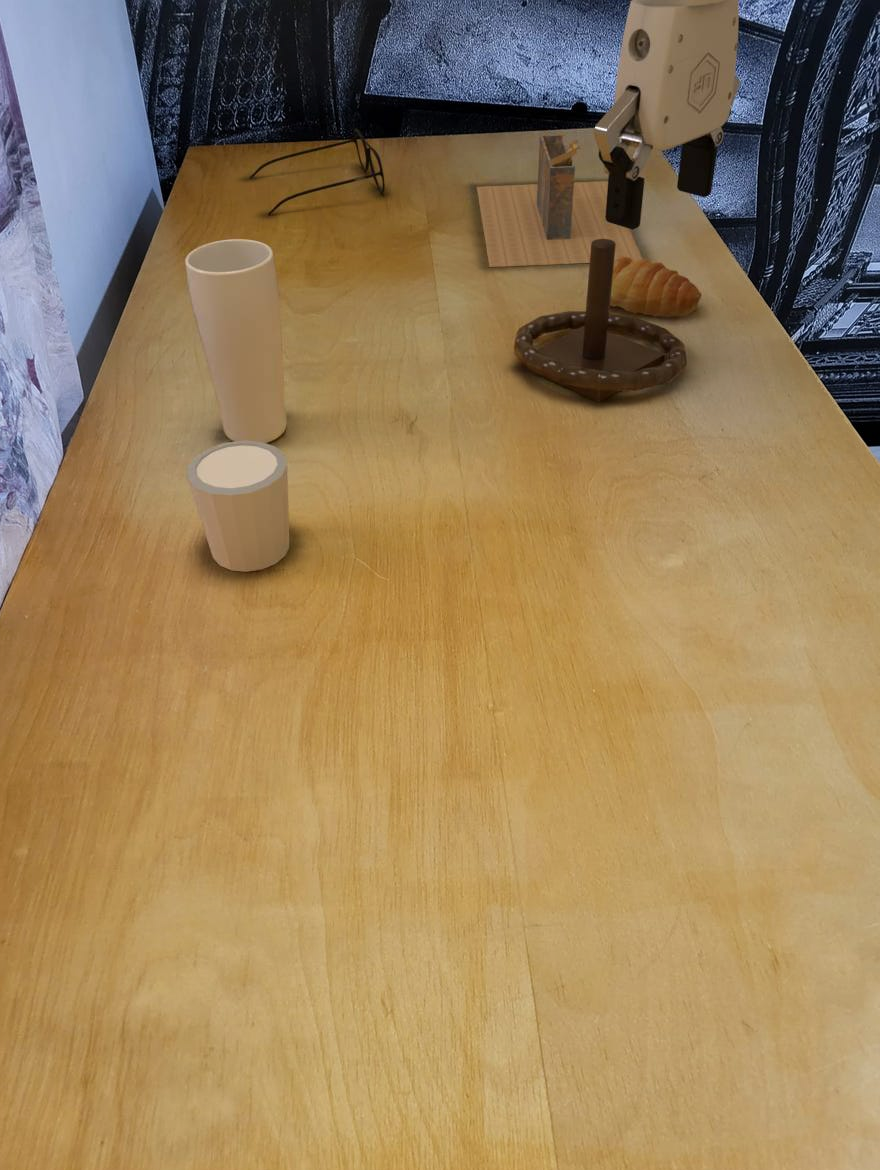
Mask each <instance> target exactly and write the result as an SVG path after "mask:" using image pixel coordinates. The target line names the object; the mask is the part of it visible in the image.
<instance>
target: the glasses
mask: <svg viewBox="0 0 880 1170" xmlns="http://www.w3.org/2000/svg"><path fill="white" fill-rule="evenodd" d="M352 130H353V132H352V133H353V138H352V139H348V140H344V141H340V142H336V143H331V144H328V145H323V146H319V147H314V148H311V149H307V150H302V151H298V152H294V153H291V154H287V155H284V156H280V157H277V158H274V159H271V160H269V161H266V162H265V163H263V164H262V165H260V166H258V168H257V169H256V170H255V171H254V172H253V173H252V174H251V175H250V177H249V180H252V178H253V177H255V176H256V175H257V174H258V173H259V172H260V171H261V170H262V169H264V168H266V167H267V166H269V165H271V164H274V163H277V162H280V161H282V160H286V159H290V158H293V157H298V156H301V155H305V154H309V153H315V152H317V151H322V150H325V149H331V148H334V147H338V146H342V145H346V144H349V143H350V144H351V143H353V144H355V148H356V152H357V156H358V161H359V164H360V167H361V169H362V171H363V172H368V170H369V168H370V172H371V173H370V174H367V175H363V176H358V177H355V178H351V179H347V180H343V181H339V182H334V183H331V184H326V185H322V186H319V187H315V188H311V189H308V190H307V189H306V190H304V191H301V192H297V193H295V194H291V195H290V196H287V197H286V198H284V199H282V200H280V201H279V202H278V203H277V204H276V205H275V206H274V207H273V208H272V209H271V210H270V211H269V212H268V213H267V216H270V215H272V214H273V213H274V212H275V211H276V210H277V209H278V208H279V207H280V206H281V205H283V204H284V203H286V202H288V201H291V200H292V199H295V198H298V197H301V196H304V195H307V194H312V193H314V192H319V191H322V190H327V189H330V188H334V187H340V186H342V185H343V186H344V185H346V184H350V183H354V182H359V181H362V180H365V179H370V178H373V180H374V183H375V185H376V187H377V190H378V191H379V193H380V194H384V193H385V189H386V188H385V187H386V185H385V175H384V174H385V173H384V170H383V165H382V161H381V157H380V155H379V153H378V151H377V150H376V149H375V148H374V147H372V146H371V144H369V143H368V142H367V140H366V139H365V138H364V136H363V134H362V133H361V131H360V130H359V129H357V128H354V129H352ZM357 135H358V137H359V138H360V140H361V143H362V147H363V149H364V156H365V167H364V164H363V161H362V159H361V155H360V149H359V144H358V140H357V139H358V138H357ZM371 151H372V153H373V155H374V157H375V159H376V161H377V164H378V167H379V168H378V169H379V171H378V172H376V171H375V168H374V164H373V160H372V155H371ZM377 176H380V177H381V181H382V188H381V186H380V184H379V181H378V178H377Z"/></svg>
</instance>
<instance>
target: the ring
mask: <svg viewBox="0 0 880 1170" xmlns="http://www.w3.org/2000/svg"><path fill="white" fill-rule="evenodd" d="M585 315H586V310H583V311H581V310H580V311H579V310H575V311H574V310H567V311H562V312H557V313H552V314H546V315H540V316H538V317H536V318H534V319H532V320H531V321H529V322H527V323H526V324H524V325H522V326H521V327H519V329H518V330H517V331H516V335H515V339H514V344H513V352H514V354H515V356H517V357H518V358H519V360H520V361H521V363H522V362H523V363H524V364H525V365H526V366H527V367H528V368H529V369H530V370H531V371H534V372H536V373H538V374H540V375H543V376H545V377H547V378H549V379H552V380H554V381H556V382H559V383H562V384H567V385H572V386H577V387H582V388H588V389H593V390H612V391H618V392H620V391H623V392H624V391H625V392H627V391H628V392H629V391H630V392H631V391H633V392H634V391H635V392H636V391H640V390H645V389H648V388H649V389H650V388H653V387H657V386H662V385H665V384H668V383H670V382H672V380H673V379H675V378H676V377H678V375H680V374H681V373H682V372H683V371H685V370H686V369H687V366H688V357H687V348H686V344H685V343H684V342H683V341H682V340H680V339H679V338H678V337H677V336H675V334H673V333H672V332H670V330H668V329H667V328H665V327H663V326H660V325H657V324H655V323H653V322H650V321H647V320H644V319H642V318H639V317H636V316H630V315H625V314H618V313H613V312H609V319H608V329H607V331H608V332H612V333H619V334H625V335H630V336H633V337H636V338H638V339H641V340H643V341H645V342H648V343H651V344H653V345H655V346H657V348H659V349H660V350H662V351H663V353H664V354H665V355H667V359H665V361H664V363H662V364H661V365H660V366H655V367H651V368H646V369H642V370H637V371H598V370H593V369H588V368H582V367H577V366H572V365H567V364H564V363H562V362H559V361H557V360H555V359H552V358H550V357H548V356H545V355H543V354H541V353H540V352H539V351H538V350H537V349H538V348H536V347H535V346H534V341H535V340H538V338H540V337H542V336H543V335H544V334H550V333H556V332H560V331H561V332H562V331H565V330H576V329H578V328H580V327H582V326H584V325H585Z"/></svg>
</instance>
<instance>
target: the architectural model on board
mask: <svg viewBox="0 0 880 1170" xmlns="http://www.w3.org/2000/svg"><path fill="white" fill-rule="evenodd" d="M577 144H579V139H574V140H573V141H572V142H569V143H568V145H567V144H566V140H564V134H561V133H560V134H543V135H539V149H538V170H537V171H538V172H537V183H531V184H510V185H509V184H507V185H486V186H476V191H477V198H478V205H479V210H480V216H481V223H482V229H483V236H484V241H485V242H484V243H485V247H486V253H487V254H486V255H487V261H488V267H489V268H498V267H499V268H502V267H523V266H526V267H527V266H549V265H570V264H590V253H591V243H592V242H593V241H594V240H597V239H610V240H613V241H614V242H615V243H616V247H615V257H614V261H615V260H616V259H618V258H620V257H621V256H622V257H629V258H630V259H632V260H634V261H638V260H640V259H643V256H642V254H641V252H640V250H639V249H640V248H639V247H638V245H637V242H636V241H635V238H634V236H633V234H632V231H631V229H629V228H626V227H622V226H619V225H616V224H612V223H609V222H607V221H606V218H605V215H606V203H607V190H608V180H601V181H600V180H599V181H579V182H578V181H577V182H575V173H576V166H575V165H573V156H575V155H577V154H578V153H577V151H578V150H580V149H581V145H578V146H577ZM567 146H568V147H567Z"/></svg>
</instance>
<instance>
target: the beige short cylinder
mask: <svg viewBox="0 0 880 1170" xmlns="http://www.w3.org/2000/svg"><path fill="white" fill-rule="evenodd" d="M186 474H187V481H188V485H189V487H190V490H191V494H192V498H193V499H194V503H195V506H196V509H197V512H198V515H199V518H200V519H199V520H200V522H201V525H202V529H203V532H204V534H205V537H206V541H207V543H208V544H207V545H208V546H209V550H210V552H211V557H212V558H213V560H214V561H215V562H216V563H217V564H218V566H220V567H222V568H225V569H227V570H230V571H232V572H242V573H243V572H244V573H248V572H249V573H250V572H255V571H261V570H265V569H266V568H269V567H271V566H274V565H276V564H278V563H279V562H280V561H281V560H282V559H283V558H285V557H286V555H287V553H288V551H289V549H290V519H289V515H290V514H289V480H288V479H289V478H288V477H289V476H288V463H287V458H286V454H285V453H283V452H282V451H281V450H280V449H279V447H277V446H274V445H271V444H269V443H263V442H257V441H235V442H234V441H229V442H223V443H220V444H218V445H214V446H212V447H209V448H206V449H205V450H203V451H202V452H200V453H199V454H197V455H196V456H195V457H193V459H192V460H191V462H190V463H189V464H188V466H187V468H186Z"/></svg>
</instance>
